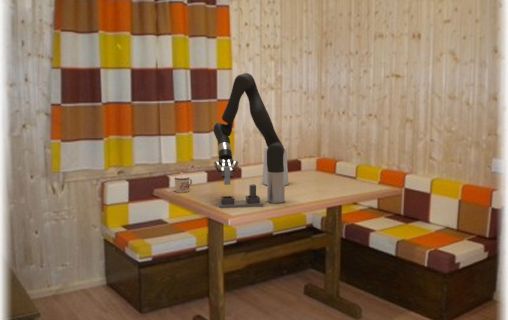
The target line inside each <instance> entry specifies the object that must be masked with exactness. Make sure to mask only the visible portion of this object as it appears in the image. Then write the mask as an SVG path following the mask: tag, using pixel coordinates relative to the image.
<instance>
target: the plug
mask: <svg viewBox="0 0 508 320" xmlns="http://www.w3.org/2000/svg"><path fill="white" fill-rule="evenodd" d="M224 174H225V178H224V179H223V184H224V185H225V186H228V185H231V178H230V166H224Z"/></svg>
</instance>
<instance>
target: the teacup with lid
mask: <svg viewBox="0 0 508 320" xmlns="http://www.w3.org/2000/svg"><path fill="white" fill-rule="evenodd" d="M192 184H193V180H192V178H190V176H189V175H186V174H185V173H184V172H180V174H177V175H176V176H175V177H174V187H175V188H174V190H175V192H176V193H178V192H185V193H188V191H189V192H190V187H191V186H192Z"/></svg>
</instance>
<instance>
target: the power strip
mask: <svg viewBox="0 0 508 320" xmlns="http://www.w3.org/2000/svg"><path fill="white" fill-rule="evenodd" d="M248 188H249V189H248V190H249V192H248V193H249V194H248V195H245V200H235V198H234V196H232V195H224V196H223V195H222V196H220V201H219V200H218V201H217V202H216V203H217V207H218V209H231V208H232V209H233V208H258V207H259V208H260V207H264V203H263V202H262V200H261V198H260V196H259V195H257V185H256V184H252V183H251V184H249V187H248Z"/></svg>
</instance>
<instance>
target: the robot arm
mask: <svg viewBox="0 0 508 320" xmlns="http://www.w3.org/2000/svg"><path fill="white" fill-rule="evenodd" d="M244 94H245V95H246V97H247V100H248V103H249V105H248V106H249V112H250V113H249V114H250V116H251V118H252V121H253V123H254V125H255V127H256V129H257V130H258V131H259V133H260V134H261V136H262V137H263V140H265V144H266V146H267V147H268V149H267V185H266V186H267V188H266V189H267V191H266V194H267V197H266V201H267V202H268V203H272V204H281V203H285V201H286V200H285V199H286V197H285V194H286V193H285V189H286V188H285V187H286V186H285V185H284V165H283V154H284V151H285V150H284V147H285V146H284V145H283V143H282V141H281V140H280V139H279V136H278V135H277V133H276V129H275V127H274V124H273V122H272V119H271V116H270V115H269V112H268V110H267V108H266V107H265V104H264V101H263V100H262V98H261V95H260V91H259V89H258V87H257V83H256V81H255V79H254V77H253V75H252V74H250V73H248V72H247V73H246V72H245V73H241V74H239V75H237V76H236V77H235V79H234V81H233V85H232V89H231V92H230V96H229V99H228V102H227V104H226V107H225V108H224V110H223V113H222V116H221V120H222V121H223V122H225V123H222V122H217V123H215V124H214V126H213V135H214V136H215V138H216V141H217V153H218V154H217V155H218V161H214V162H213V165H214V168H215V169H216V171H217V172H218V173H221V178H222V179H223V180H224V178H225V174H224V166H230V179H232V178H233V173H235V172H236V170H237V168H238V166H239V165H238V164H239V161H238V160H236V161H235V160H234V159H233V153H232V146H231V139H230V136H231V135H232V133H233V132H232V131H233V125H234V121H235V119H236V116H237V114H238V112H239V107H240V101H241V98H242V96H243V95H244ZM232 165H233V167H232ZM220 166H221V168H220Z"/></svg>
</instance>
